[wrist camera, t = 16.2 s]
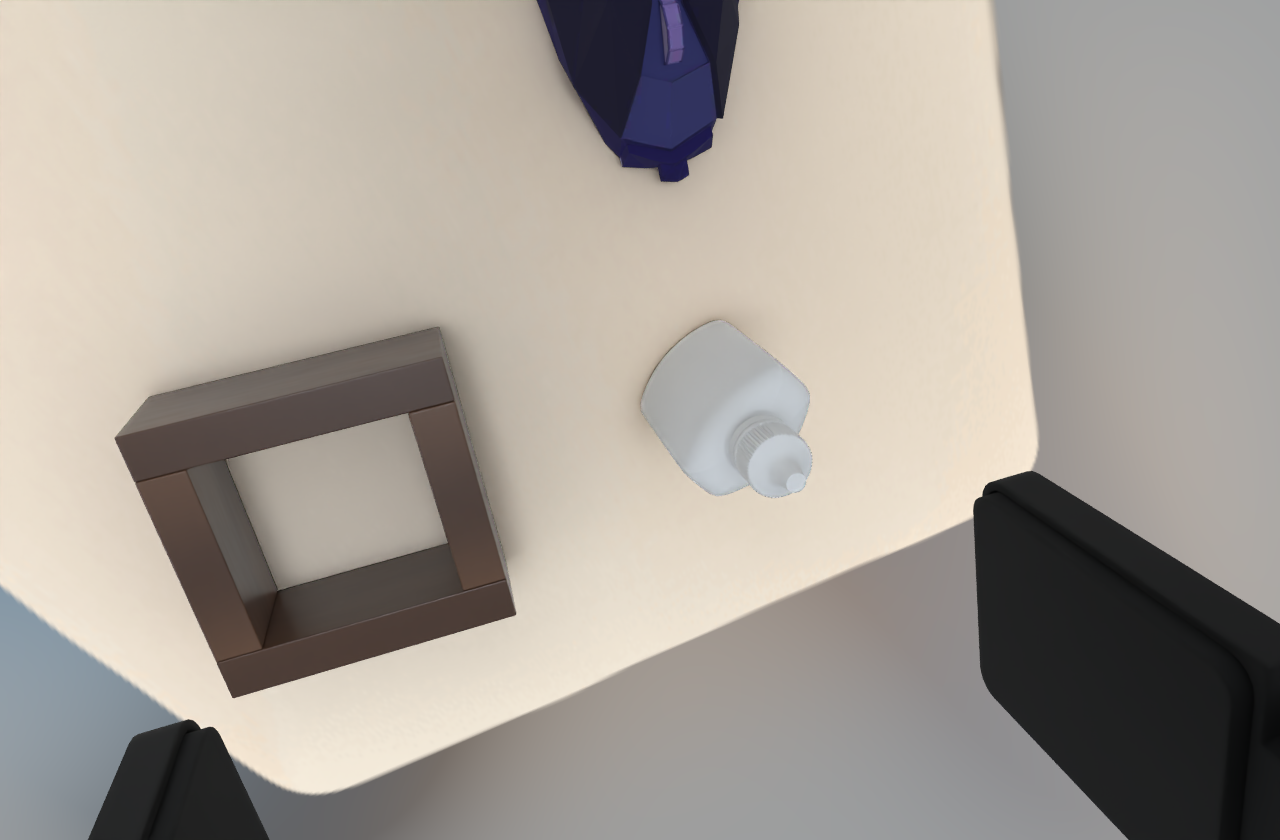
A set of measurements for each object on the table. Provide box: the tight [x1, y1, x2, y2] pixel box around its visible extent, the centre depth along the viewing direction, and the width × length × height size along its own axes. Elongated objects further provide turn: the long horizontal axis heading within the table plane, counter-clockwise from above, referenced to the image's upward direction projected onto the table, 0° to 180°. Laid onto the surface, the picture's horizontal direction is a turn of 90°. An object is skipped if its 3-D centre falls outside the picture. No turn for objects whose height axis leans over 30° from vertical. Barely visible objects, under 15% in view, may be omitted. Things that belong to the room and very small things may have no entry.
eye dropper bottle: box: [641, 320, 812, 498], centre depth 35 cm, size 4×6×12 cm
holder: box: [115, 327, 516, 698], centre depth 36 cm, size 12×12×4 cm
